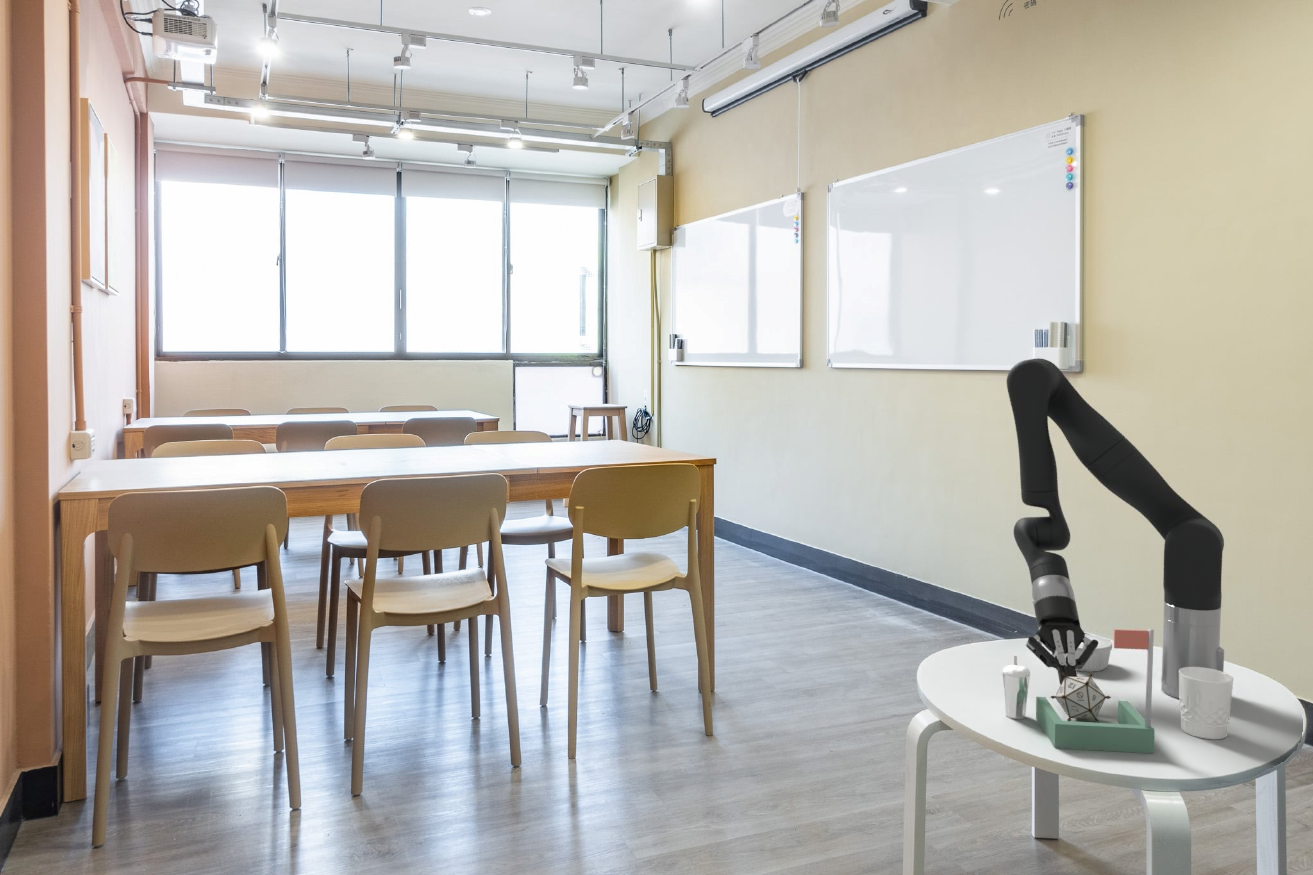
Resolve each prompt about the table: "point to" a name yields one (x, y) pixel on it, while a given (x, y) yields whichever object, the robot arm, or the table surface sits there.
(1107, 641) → the ramekin
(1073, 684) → the game die
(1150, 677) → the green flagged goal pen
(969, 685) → the table surface
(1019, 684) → the milkshake
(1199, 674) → the white cup
